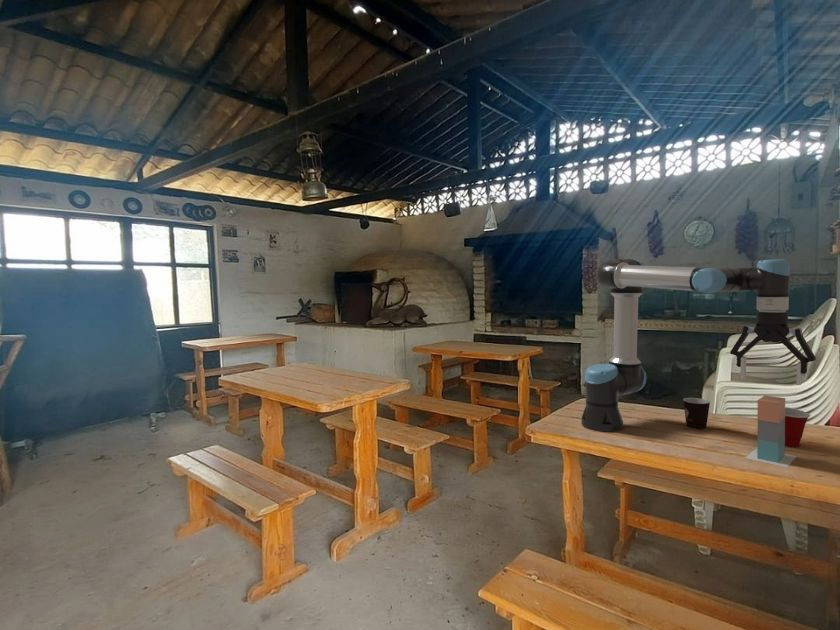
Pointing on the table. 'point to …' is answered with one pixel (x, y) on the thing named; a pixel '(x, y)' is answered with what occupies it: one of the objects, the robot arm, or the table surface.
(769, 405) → the terracotta brick
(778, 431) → the charcoal brick
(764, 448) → the teal base brick
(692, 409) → the coffee mug
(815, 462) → the table surface
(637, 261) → the robot arm
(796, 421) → the plastic cup
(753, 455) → the baseplate
